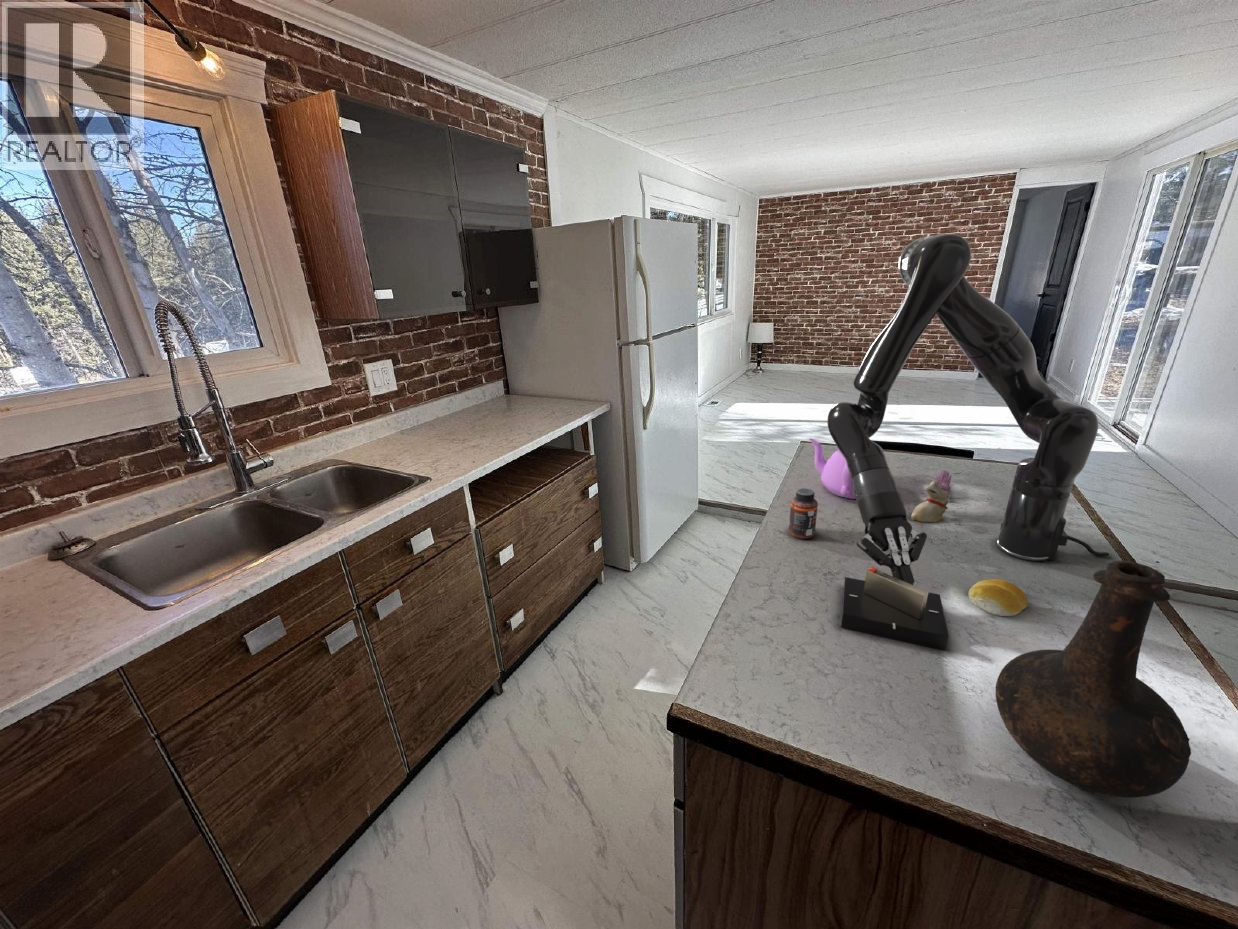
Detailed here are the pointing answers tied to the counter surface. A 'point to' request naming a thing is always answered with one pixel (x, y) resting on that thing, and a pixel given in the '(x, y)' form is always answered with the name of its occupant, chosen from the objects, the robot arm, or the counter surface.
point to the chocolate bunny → (932, 505)
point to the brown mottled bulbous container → (1099, 697)
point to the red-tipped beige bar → (895, 592)
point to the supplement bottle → (803, 514)
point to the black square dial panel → (893, 618)
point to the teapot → (834, 472)
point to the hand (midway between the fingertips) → (906, 587)
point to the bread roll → (998, 597)
